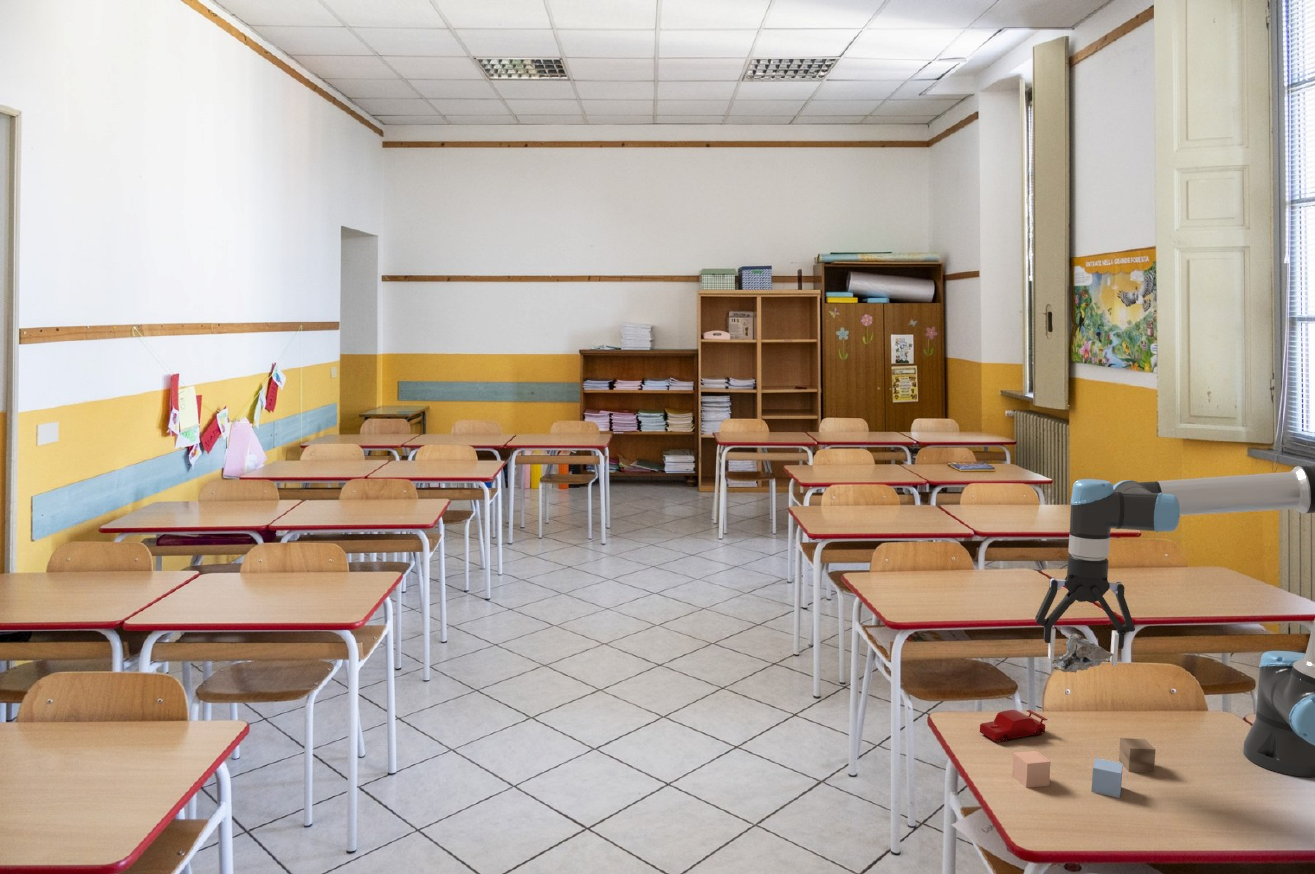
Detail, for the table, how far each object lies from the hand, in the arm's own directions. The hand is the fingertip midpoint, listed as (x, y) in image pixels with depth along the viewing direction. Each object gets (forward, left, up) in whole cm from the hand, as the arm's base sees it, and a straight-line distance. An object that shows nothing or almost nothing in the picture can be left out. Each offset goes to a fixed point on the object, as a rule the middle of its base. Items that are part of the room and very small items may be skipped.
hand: (1082, 660), depth 198 cm
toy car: (+11, -12, -23) cm, 28 cm away
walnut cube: (-12, -2, -22) cm, 25 cm away
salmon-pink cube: (+10, +11, -22) cm, 26 cm away
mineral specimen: (0, +1, -2) cm, 2 cm away
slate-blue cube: (-4, +11, -22) cm, 25 cm away
